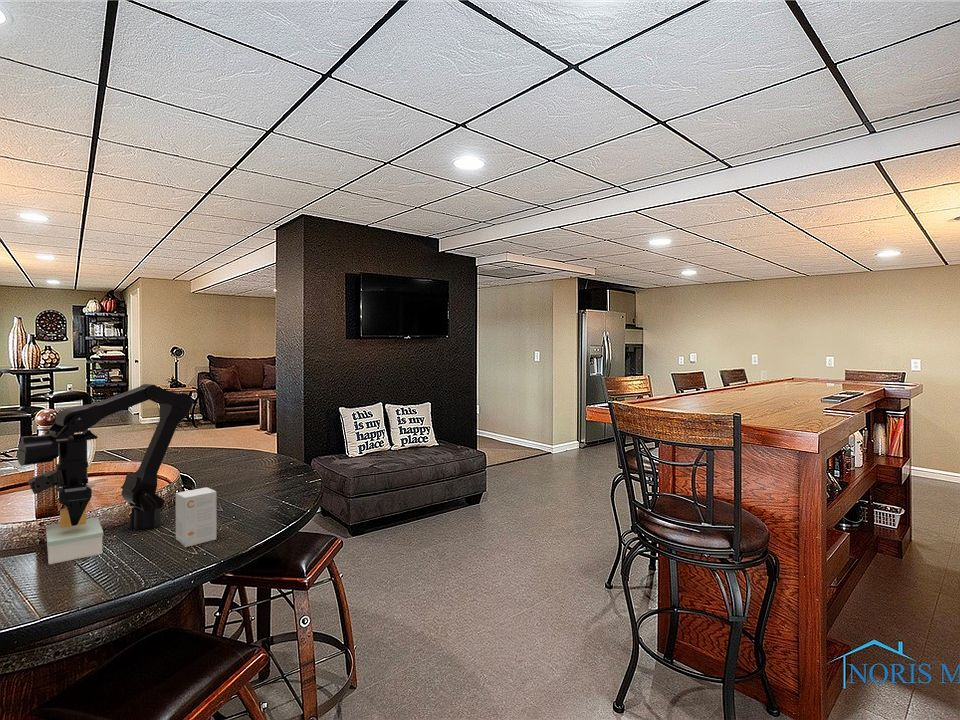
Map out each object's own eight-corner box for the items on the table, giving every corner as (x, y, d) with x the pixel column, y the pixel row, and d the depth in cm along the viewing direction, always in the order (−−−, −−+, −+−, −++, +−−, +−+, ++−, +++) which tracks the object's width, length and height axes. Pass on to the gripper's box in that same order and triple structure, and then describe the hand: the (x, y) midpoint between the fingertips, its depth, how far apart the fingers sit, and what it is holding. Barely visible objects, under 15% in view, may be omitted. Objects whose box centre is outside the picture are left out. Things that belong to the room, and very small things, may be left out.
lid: (46, 535, 130) (45, 509, 130) (97, 526, 137) (97, 502, 136) (47, 553, 119) (47, 524, 119) (103, 542, 126) (103, 515, 126)
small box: (207, 533, 142) (207, 486, 142) (217, 539, 138) (217, 491, 138) (174, 541, 136) (174, 492, 136) (183, 548, 132) (184, 497, 132)
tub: (47, 549, 130) (47, 529, 130) (96, 540, 136) (96, 521, 136) (48, 567, 119) (48, 546, 119) (102, 556, 126) (102, 536, 126)
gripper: (30, 456, 132) (30, 517, 132) (30, 470, 118) (31, 538, 118) (85, 451, 139) (85, 509, 140) (91, 463, 125) (91, 528, 126)
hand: (73, 520), depth 131 cm, fingers open, 9 cm apart
